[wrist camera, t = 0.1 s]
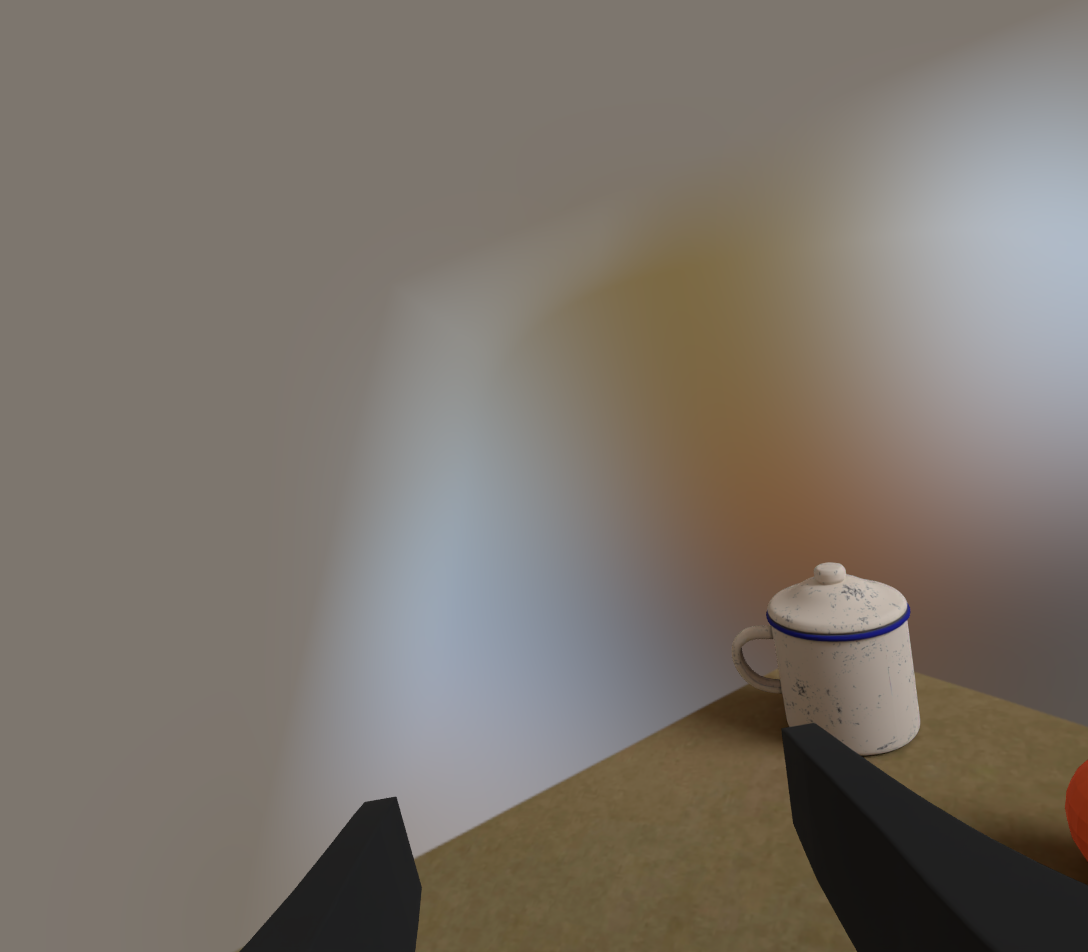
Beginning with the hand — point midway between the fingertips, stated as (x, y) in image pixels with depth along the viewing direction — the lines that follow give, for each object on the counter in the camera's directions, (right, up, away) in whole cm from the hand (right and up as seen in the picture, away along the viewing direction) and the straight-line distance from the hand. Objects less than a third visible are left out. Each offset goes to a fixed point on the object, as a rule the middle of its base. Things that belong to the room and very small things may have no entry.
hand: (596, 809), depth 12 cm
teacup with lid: (+20, -12, +35) cm, 42 cm away
